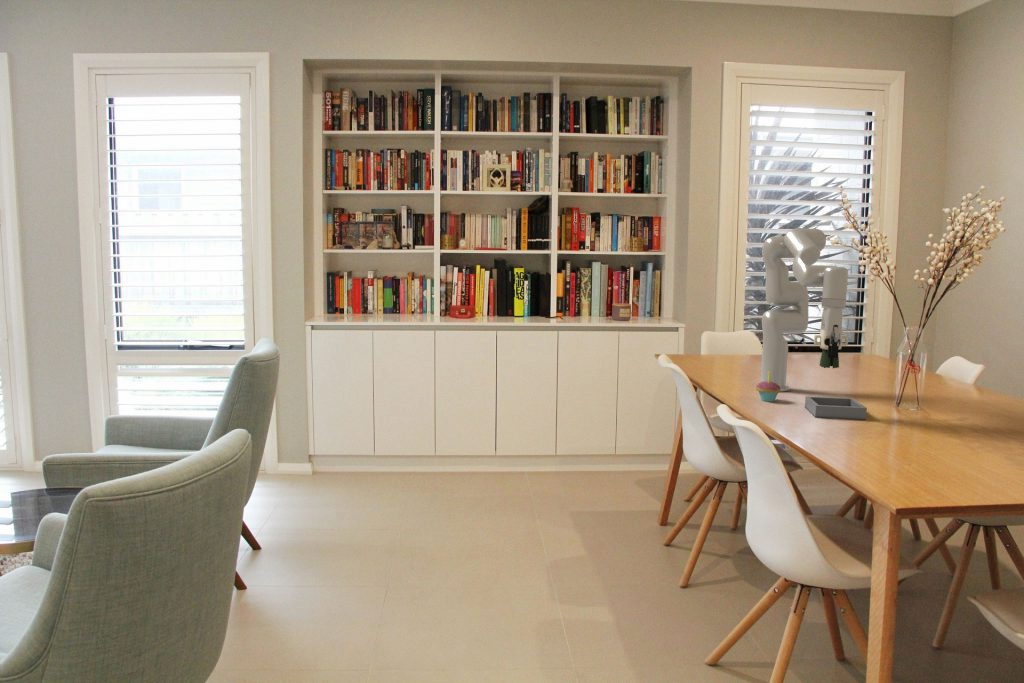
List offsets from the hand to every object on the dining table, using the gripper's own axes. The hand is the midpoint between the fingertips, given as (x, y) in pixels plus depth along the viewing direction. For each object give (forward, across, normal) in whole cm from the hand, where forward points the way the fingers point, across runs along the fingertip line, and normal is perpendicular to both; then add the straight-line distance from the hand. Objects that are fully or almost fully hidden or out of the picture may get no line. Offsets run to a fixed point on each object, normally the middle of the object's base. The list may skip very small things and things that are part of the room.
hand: (830, 355), depth 264 cm
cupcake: (+20, -17, -17) cm, 31 cm away
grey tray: (+20, 0, +3) cm, 20 cm away
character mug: (+4, 0, 0) cm, 4 cm away
